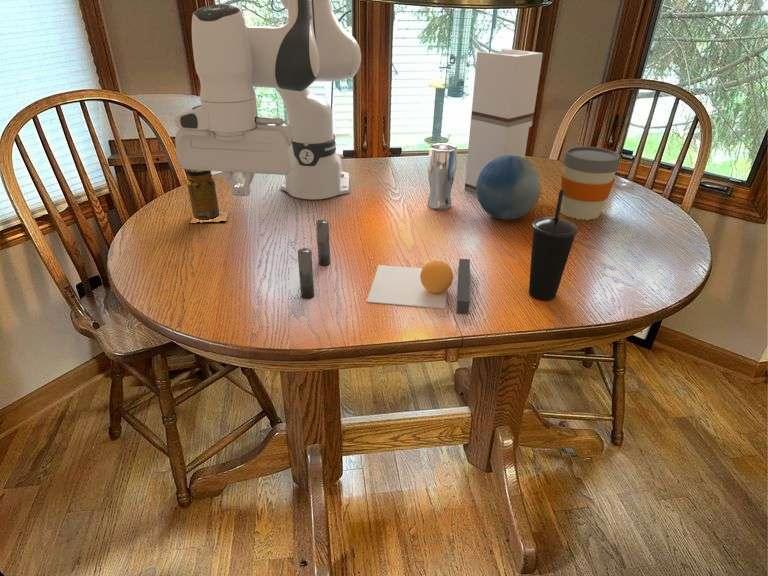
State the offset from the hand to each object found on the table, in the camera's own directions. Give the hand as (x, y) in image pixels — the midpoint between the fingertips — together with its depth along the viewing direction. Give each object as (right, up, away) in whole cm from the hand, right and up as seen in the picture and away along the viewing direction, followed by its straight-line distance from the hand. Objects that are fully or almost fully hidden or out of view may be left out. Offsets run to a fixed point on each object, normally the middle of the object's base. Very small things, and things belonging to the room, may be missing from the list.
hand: (241, 194), depth 95 cm
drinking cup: (+55, -18, +3) cm, 58 cm away
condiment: (-16, 0, +32) cm, 36 cm away
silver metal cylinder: (+40, +4, +40) cm, 57 cm away
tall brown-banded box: (+56, +10, +50) cm, 75 cm away
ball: (+35, -15, +2) cm, 38 cm away
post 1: (+12, -18, +1) cm, 22 cm away
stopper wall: (+40, -17, +3) cm, 44 cm away
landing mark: (+31, -16, +5) cm, 35 cm away
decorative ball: (+55, 0, +34) cm, 65 cm away
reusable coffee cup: (+75, +2, +37) cm, 83 cm away
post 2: (+14, -12, +12) cm, 22 cm away
